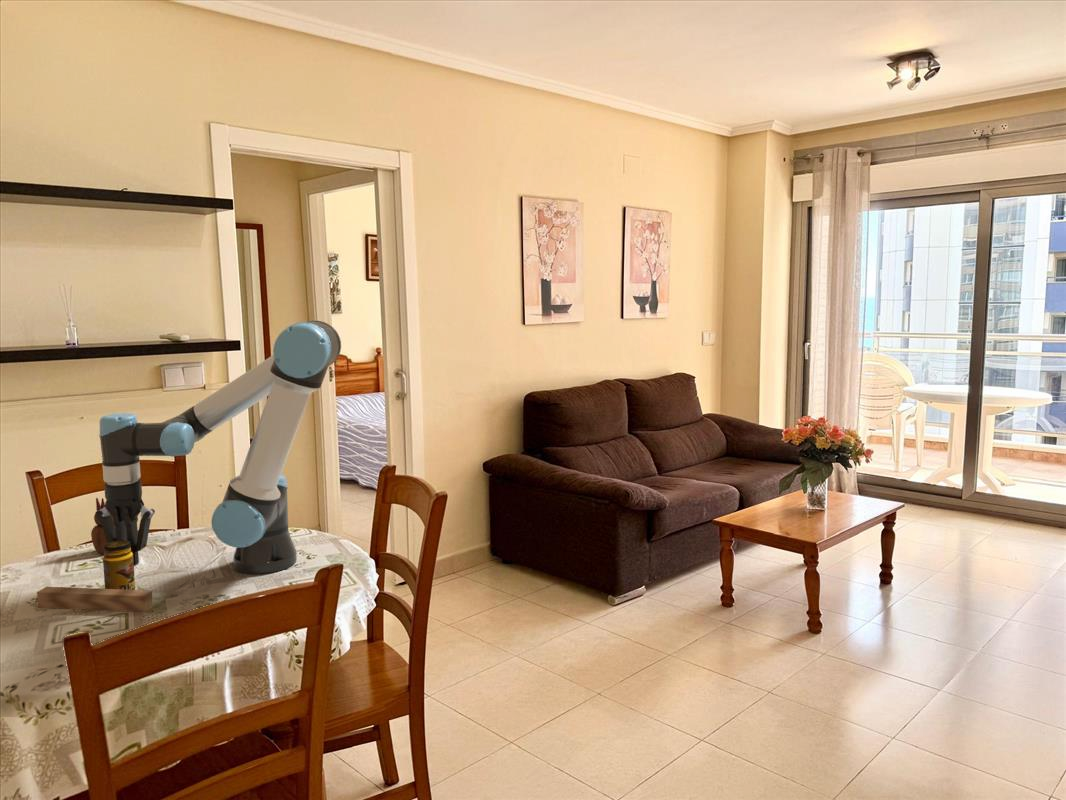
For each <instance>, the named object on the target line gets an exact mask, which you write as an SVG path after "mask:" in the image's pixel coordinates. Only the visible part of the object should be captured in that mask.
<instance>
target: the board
mask: <svg viewBox="0 0 1066 800" xmlns="http://www.w3.org/2000/svg"><path fill="white" fill-rule="evenodd" d="M36 597H37V598H36V599H37V608H49V609H67V610H68V609H69V610H71V609H74V610H91V611H92V610H93V611H94V610H96V611H99V610H100V611H120V612H121V611H122V612H123V611H124V612H145V613H146V612H147V611H149V610H150V609H151V608H152V607H153V606H154V601H153V598H154V597H153V590H145V589H141V590H140V589H137V590H122V589H105V588H91V587H88V588H87V587H84V588H83V587H67V586H66V587H65V586H44V587H43V588H42V589H40V590H38V591H36Z"/></svg>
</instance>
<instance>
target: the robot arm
mask: <svg viewBox="0 0 1066 800" xmlns="http://www.w3.org/2000/svg"><path fill="white" fill-rule="evenodd" d="M341 349H342V340H341V338H340V335H339V333H338V331H337V330H336V329H335V327H333V326H332V325H330V324H329V323H328V322H324V321H322V320H310V321H303V322H300V321H299V322H296V323H293V324H291V325H289V326H287V327H286V328H285V329H283V330H282V331H281V332H280V333H279V335H277V338H275V341H274V344H273V350H272V353H273V355H271V356H269V357H268V358H266V359H265V360H263V361H262V362H260V363H259V364H256V365H255V366H254V367H251V369H249V370H247V371H246V372H245V373H243V374H241V375H239V376H238V377H237V378H235V379H234V380H232V381H231V382H229V383H227V384H225V385H224V386H223V387H221V388H219V389H218V390H217V391H215V392H213V393H211V394H210V395H209V396H207V397H205V398H204V399H203V400H201V401H199V402H198V403H196V404H195V405H193V406H191V407H189V408H188V409H187V410H185V411H183V412H182V413H180V414H179V415H176V416H174V417H172V418H169V419H166V420H165V421H163V422H152V423H151V422H147V423H145V422H138V419H137V416H136V415H135V414H134V413H128V412H119V413H111V414H105V415H103V416H102V417H100V419H99V435H98V437H99V438H100V439H99V440H100V449H101V459H102V461H101V462H102V465H101V466H102V475H103V476H102V479H103V481H104V485H103V487H104V498H105V500H106V501H105V502H106V503H105V502H104V503H105V507H104V508H103V509H101V510H98V511H97V510H96V511H95V512H94V516H95V515H96V516H97V517H98V519H99V520H100V522H101V525H102V528H103V531H104V534H105V537H106V540H107V543H109V542H112V541H117V540H126V541H129V542H130V544H131V546H130V547H131V552H132V553H133V561H134V573H135V574H134V575H135V578H137V575H138V574H137V573H138V572H137V565H139V563H140V562H139V561H140V560H139V552H140V551H142V550H143V549H145V548H146V547H147V544H148V538H149V533H150V528H151V523H152V522H151V520H152V517H153V516H154V515H155V513H156V512H155V511H156V510H155V509H153V508H148V507H146V506H145V503H144V501H143V498H142V497H143V489H142V488H143V487H142V480H141V479H140V478H141V475H142V474H141V464H140V463H141V462H140V457H142V456H143V457H144V456H145V457H174V458H175V457H177V456H187V455H190V454H191V452H192V450H193V449H194V446H195V443H196V442H198V441H200V440H203V439H204V438H205V437H206V436H207V435H208V434H210V433H212V432H213V431H214V430H217V429H218V428H219V427H220V426H222V425H224V424H225V423H227V422H229V421H230V420H231V419H234V418H235V417H236V416H239V414H241V413H242V412H245V411H246V410H247V409H249V408H251V407H253V406H254V405H256V404H257V403H259V402H260V401H262V400H263V399H266V397H267V399H266V402H265V404H264V407H263V410H262V413H261V415H260V418H259V421H258V423H257V427H256V429H255V431H254V434H253V437H252V439H251V440H252V441H251V443H250V446H249V449H248V450H247V454H246V457H245V459H244V462H243V465H242V467H241V470H240V473H239V475H237V476H234V477H232V478H231V479H230V481H229V482H228V486H227V488H226V491H225V493H224V497H223V500H222V502H221V503H219V504H218V505H217V506H216V508H215V509H214V510H213V513H212V516H211V523H210V524H211V528H212V531H213V532H214V534H215V536H216V538H217V539H218V540H219V541H220V542H222V543H223V544H225V545H226V546H229V547H233V548H235V551H234V553H233V559H232V560H233V561H232V562H233V563H232V564H233V568H234V570H235V571H237V572H241V573H244V574H255V575H256V574H258V575H260V574H268V573H274V572H280V571H282V570H286V569H288V568H290V567H291V566H293V565H295V564H296V562H297V549H296V548H295V547H296V546H295V544H294V543H293V539H292V537H291V535H290V532H289V510H288V509H289V508H288V487H289V486H288V484H287V483H288V482H287V478H286V476H285V475H283V474H282V473H283V470H284V467H285V465H286V462H287V459H288V457H289V453H290V452H291V448H292V446H293V442H294V440H295V438H296V435H297V432H298V430H299V427H300V424H301V422H302V418H303V416H304V414H305V411H306V408H307V405H308V402H309V400H310V397H311V396H312V395H311V394H312V393H314V392H317V391H318V390H320V389H321V388H322V384H323V382H324V380H325V377H326V374H327V371H328V369H329V367H330V366H332V365H333V364H335V362H336V360H337V359H338V358H339V357H340V354H341ZM110 514H111V516H112V517H113V521H112V518H111V516H110ZM138 516H140V517H141V518H140V521H139V517H138ZM138 521H139V525H138ZM113 522H114V524H113ZM114 525H115V527H114ZM138 526H139V527H138Z"/></svg>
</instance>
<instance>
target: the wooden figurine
mask: <svg viewBox="0 0 1066 800" xmlns="http://www.w3.org/2000/svg"><path fill="white" fill-rule="evenodd" d="M105 503H106V501H104V498H101V503H100V501H99V498H98V497H96V498H95V506H96V511H98V510H101V509H103V508H104V507H105ZM93 516H94V517H93V520H94V523H95V524H96V525H95V526H93V528H92V529H91V532H90V535H91V536H90V537H91V543H92V545H93V548H94V550H95V551H96V552H97V554H104V551H105V550H104V546H105V545H106V544H107V540H106V537H105V534H104V531H103V528H102V525H101V522H100V520H99V519H98V517H97V516H96V515H95V514H94V515H93ZM110 516H111V514H110ZM111 518H112V521H113V517H112V516H111ZM113 524H114V522H113ZM114 527H115V525H114ZM104 555H105V554H104Z"/></svg>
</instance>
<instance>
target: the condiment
mask: <svg viewBox="0 0 1066 800" xmlns="http://www.w3.org/2000/svg"><path fill="white" fill-rule="evenodd" d="M130 546H131V544H130V542H129V541H126V540H117V541H112V542H109V543H107V544H106V545H105V546H104V550H105V551H104V555H103V557H102V567H103V579H104V581H103V582H104V589H122V590H138V587H137V584H136V577H135V575H134V574H135V573H134V561H133V553H132V552H131V547H130Z"/></svg>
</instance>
